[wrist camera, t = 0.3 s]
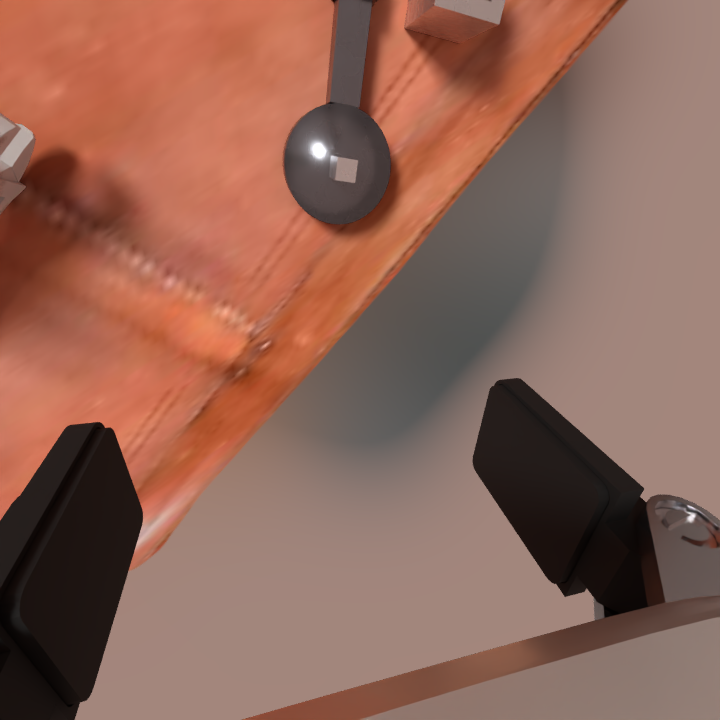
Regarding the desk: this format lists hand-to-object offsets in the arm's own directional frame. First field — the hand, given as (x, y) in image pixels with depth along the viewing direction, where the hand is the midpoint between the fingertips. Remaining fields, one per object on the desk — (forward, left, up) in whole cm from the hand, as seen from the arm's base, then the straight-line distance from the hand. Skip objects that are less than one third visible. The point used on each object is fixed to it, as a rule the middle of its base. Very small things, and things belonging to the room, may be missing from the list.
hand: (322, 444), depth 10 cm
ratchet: (-13, +5, -30) cm, 33 cm away
